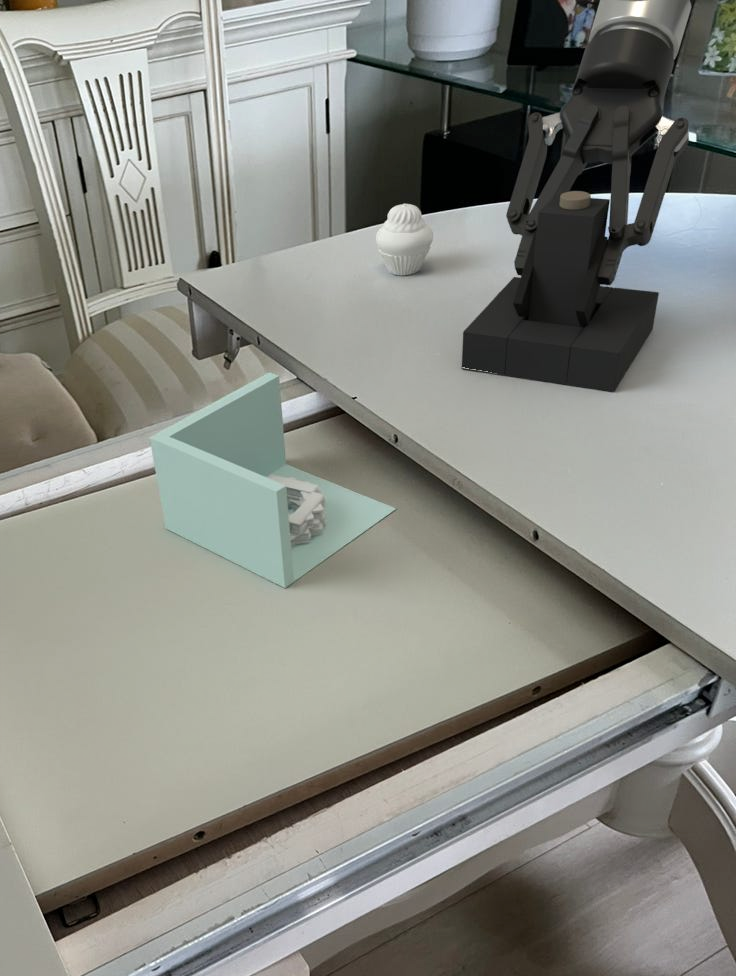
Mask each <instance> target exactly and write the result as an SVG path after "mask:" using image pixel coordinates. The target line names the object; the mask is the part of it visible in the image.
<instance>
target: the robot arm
mask: <svg viewBox="0 0 736 976" xmlns="http://www.w3.org/2000/svg"><path fill="white" fill-rule="evenodd" d="M598 3H599V4H598V6H597V10H596V13H595V16H594V21H593V24H592V27H591V30H590V33H589V36H588V39H587V45H586V46H585V49H584V52H583V55H582V59H581V62H580V64H579V68H578V71H577V73H576V74H577V75H576V78H575V81H574V83H573V88H572V92H571V94H570V97H569V98H568V100H567V101H566V102H565V104H563V105H562V107H561V108H560V111H559V112H556V113H551V114H549V115H546V116H543V115H542V113H540V112H537V111H535V112H532V113H531V114H530V115H529V116H528V118H527V128H528V141H527V144H526V147H525V151H524V154H523V157H522V161H521V164H520V167H519V171H518V174H517V177H516V181H515V184H514V187H513V190H512V194H511V197H510V200H509V204H508V207H507V211H506V215H505V217H506V221H507V222H508V227H509V229H510V231H511V233H512V234H513V235H520V236H521V239H520V241H519V245H518V247H517V252H516V256H515V258H514V262H513V263H514V270H515V272H516V274H517V276H520V282H519V285H518V288H517V291H516V295H515V298H514V301H513V305H514V307H515V309H516V312H517V314H518V316H519V317H527V315H528V312H529V308H530V297H531V286H532V275H533V264H534V253H535V243H536V232H537V221H538V212H539V211H540V210H541V209H542V208H543V207H544V206H545V205H546V204H547V203H548V202H549V201H550V200H551V199H552V198H553V197H554V196H556V195H557V196H561V194H563V193H565V192H570V191H571V189H572V187H573V185H574V184H575V181H576V180H577V178H578V176H580V175H582V173H583V171H584V170H585V168H586V166H587V164H592V163H598V162H602V163H604V164H607V165H611V182H610V183H611V184H610V198H609V199H610V203H609V220H608V226H607V230H608V236H605V237H604V236H598V239H597V242H596V245H595V248H594V252H593V255H592V258H591V261H590V265H589V268H588V271H587V274H586V277H585V281H584V284H583V287H582V290H581V294H580V297H579V300H578V304H577V307H576V310H575V311H576V315H577V318H578V322H579V324H582V325H588V324H589V320H590V317H591V314H592V311H593V307H594V304H595V301H596V297H597V294H598V291H599V288H600V286H611V285H613V282H614V281H615V279H616V276H617V274H618V273H617V272H618V271H619V270H618V269H619V266H620V263H621V259H622V256H623V253H624V251H625V250H626V249H627V248H629V247H632V246H640V247H644V246H647V245H648V244H650V242H651V240H652V236H653V233H654V230H655V227H656V224H657V220H658V217H659V214H660V210H661V207H662V204H663V201H664V198H665V194H666V191H667V188H668V185H669V182H670V179H671V175H672V172H673V169H674V166H675V162H676V161H677V160H678V158H679V157H680V156H681V154H682V153H683V152H684V150H685V149H686V147H687V146H688V144H689V142H690V132H689V131H690V130H689V128H690V127H689V120H688V119H687V118H686V117H679V118H677V119H676V120H673V119H671V118H668V117H665V116H664V115H663V109H662V105H663V101H664V98H665V95H666V92H667V88H668V85H669V82H670V79H671V75H672V72H673V69H674V66H675V60H676V58H677V56H678V54H679V50H680V47H681V43H682V40H683V37H684V33H685V31H686V26H687V23H688V20H689V17H690V14H691V10H692V7H693V3H694V0H599V2H598ZM560 130H562V131H563V133H564V136H565V137H566V139H567V141H566V143H565V145H564V146H563V149H562V153H561V156H560V158H559V160H558V162H557V164H556V166H555V167H554V169H553V171H552V172H551V174H550V176H549V178H548V180H547V181H546V183H545V185H544V187H543V188H542V190H541V192H540V194H539V196H538V197H537V199H536V201H535V202H534V199H535V195H536V192H537V189H538V186H539V182H540V179H541V176H542V173H543V170H544V166H545V162H546V159H547V153H548V146H551V145H552V144H553V143H554V141H555V138H556V134H557V133H558V132H559V131H560ZM656 134H657V135H656ZM655 135H656V146H657V149H656V153H655V154H654V158H653V161H652V164H651V166H650V167H651V168H650V170H649V174H648V177H647V181H646V184H645V187H644V191H643V194H642V197H641V198H640V199H641V200H640V203H639V205H638V210H637V212H636V216H635V218H634V222H631V223H628V220H629V200H630V199H629V198H630V183H631V182H630V181H631V180H630V179H631V172H632V155H633V154H635V152H637V151H638V150H639V149H640V148H642V147H643V145H645V144H646V143H647V142H648V141H649V140H650V139H651V138H652V137H653V136H655ZM533 203H534V204H533ZM532 205H533V206H532Z"/></svg>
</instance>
